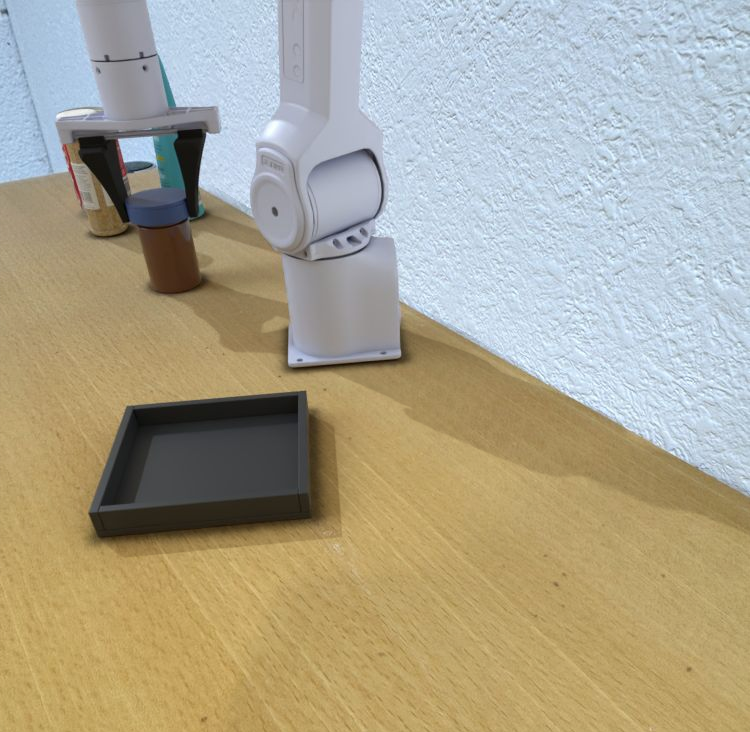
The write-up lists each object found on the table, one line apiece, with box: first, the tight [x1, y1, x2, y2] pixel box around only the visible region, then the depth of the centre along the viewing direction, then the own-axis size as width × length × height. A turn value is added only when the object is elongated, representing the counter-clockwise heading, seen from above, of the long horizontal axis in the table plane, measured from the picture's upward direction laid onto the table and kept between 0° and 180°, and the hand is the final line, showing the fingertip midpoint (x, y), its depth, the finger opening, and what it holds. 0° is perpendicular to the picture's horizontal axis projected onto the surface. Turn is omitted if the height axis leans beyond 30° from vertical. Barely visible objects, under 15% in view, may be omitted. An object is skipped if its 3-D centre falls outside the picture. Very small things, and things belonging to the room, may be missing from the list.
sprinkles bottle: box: [55, 109, 129, 237], centre depth 84 cm, size 5×5×14 cm
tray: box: [88, 390, 313, 538], centre depth 47 cm, size 13×12×2 cm
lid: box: [124, 187, 190, 226], centre depth 69 cm, size 6×6×2 cm
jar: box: [135, 217, 202, 294], centre depth 71 cm, size 5×5×8 cm
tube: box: [150, 52, 205, 221], centre depth 85 cm, size 7×5×19 cm, turn 31°
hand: (161, 217), depth 69 cm, fingers closed on lid, 6 cm apart
